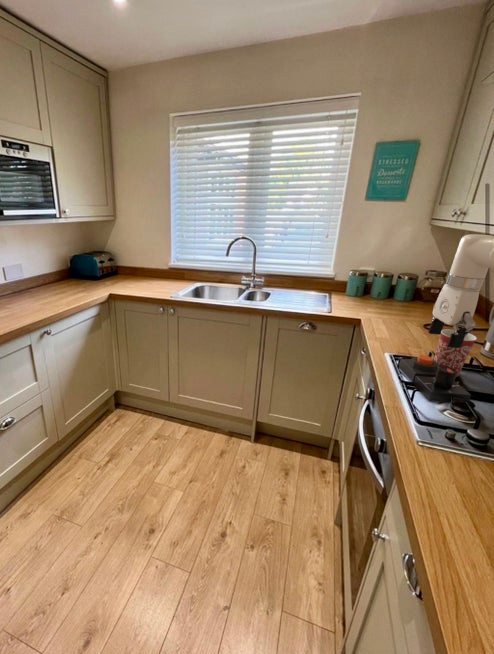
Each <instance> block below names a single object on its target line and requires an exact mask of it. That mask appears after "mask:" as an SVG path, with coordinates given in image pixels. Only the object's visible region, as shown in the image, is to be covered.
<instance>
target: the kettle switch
mask: <svg viewBox="0 0 494 654" xmlns="http://www.w3.org/2000/svg"><path fill="white" fill-rule="evenodd" d="M417 357H418V359H417V362H419V363H421V364H425V365H432V363H433V361H434V358H433V357H432V356H429V355H425V354H420V355H418V356H417Z"/></svg>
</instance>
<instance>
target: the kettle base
mask: <svg viewBox="0 0 494 654" xmlns="http://www.w3.org/2000/svg"><path fill="white" fill-rule="evenodd" d="M417 359H418V356H413V357H412V358H400V361H399V364H398V368H399V369H400V371H402V372H403V373H404V375H405V376H406V377H407V379H409V380H410V381H411V382H412V383H414V380H415V377H416V376H423V377H435V375H436V372H437V370H438V363H437V362H435V361H434V360H433V363H432V365H425V364H421V363H419V362H417Z"/></svg>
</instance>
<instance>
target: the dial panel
mask: <svg viewBox="0 0 494 654" xmlns="http://www.w3.org/2000/svg"><path fill="white" fill-rule="evenodd" d="M434 378H435V377H423V376H416V377H415V380H414V382H412V383H413V384H412V385H413V386H414V387H415V388H416V389H417V390H418V391H419V392H420V394H421V395H423V397H424V398H425V399H426V400H427V401H428V402H430V401H431V402H437V403H448V404H449V403H450V404H452V403H451V397H459V398H464V399H466V400H468V403H469V402H470V400H471V397H472V394H471V393H470V392H468V391H467V390H466V388H464V387H462V386H461V385H460V384H459V383H458V382H456V381H455V380H454V383H453V386H452V388H450V389H445V388H441V387H438V386H436V385H435V384H434V383H433V381H434Z"/></svg>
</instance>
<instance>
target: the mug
mask: <svg viewBox="0 0 494 654" xmlns="http://www.w3.org/2000/svg"><path fill="white" fill-rule="evenodd" d="M452 333H454V331H453V329H442V331H441V334H439V339H438V342H437V347H436V351H435V354H434V358H433V359H434V360H433V361H435V362H437V363H438V367H439V366H447V367H451V368H453V369H455V370H457V375H456V378H457V377H459V375H460V374H461V372H462V369H463V367H464V365H465V363H466V361H467V359H468V357H469V355H470V353H471V350H472V348H473V346H474V345H475V342H476V341H477V340H478V337H477V336H476V335H474V334H472V333H468V335H466V336H465V338H464V340H463V343H462V345H461V347H460V348H450V347H448V346H447V344H448V342H449V339H450V336H451V334H452Z"/></svg>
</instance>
